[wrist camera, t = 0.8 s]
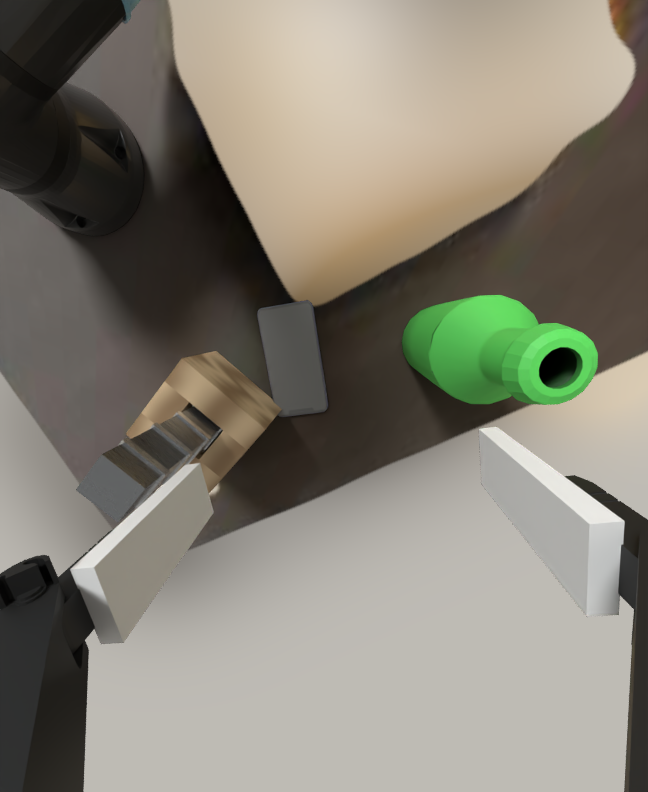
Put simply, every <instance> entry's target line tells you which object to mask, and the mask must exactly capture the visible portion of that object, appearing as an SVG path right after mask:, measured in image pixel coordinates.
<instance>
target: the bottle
mask: <svg viewBox="0 0 648 792" xmlns="http://www.w3.org/2000/svg"><path fill="white" fill-rule="evenodd" d="M402 348H403V354H404V356H405V358H406V359H407V361H408V363H409V364H410V365H411V366H412V367H413V368H414V369H416V370H417V371H418V372H419V373H421V374H422V375H423V376H425V377H426V378H427V379H428V380H430V381H431V382H432V383H434V384H435V385H437V386H438V387H439V388H441V389H442V390H444V391H445V392H446V393H448V394H449V395H451V396H452V397H453V398H455V399H458V400H461V401H464V402H466V403H469V404H492V403H495V402H498V401H501V400H504V399H507V398H509V397H511V396H513V397H514V398H515V399H516V400H519V401H522V402H525V403H528V404H543V405H547V404H560V403H563V402H566V401H568V400H571V399H573V398H574V397H576V396H577V395H579V394H580V393H581V392H583V391H584V389H585V388H586V387H587V386H588V384H589V383H590V382H591V380H592V379H593V376H594V374H595V371H596V369H597V360H598V353H597V351H596V348H595V346H594V343H593V342H592V341H591V340H590V339H589V338H588V337H587V336H586V335H585V334H584V333H581V332H579V331H577V330H575V329H573V328H570V327H567V326H564V325H561V324H558V323H548V324H540V325H539V324H538V322H537V320H536V318H535V316H534V314H533V313H532V312H530V311H529V310H528V309H527V308H526V307H525V306H524V305H523V304H521V303H520V302H519V301H516V300H513V299H510V298H507V297H505V296H502V295H486V296H476V297H471V298H466V299H462V300H457V301H452V302H448V303H443V304H439V305H434V306H431V307H429V308H426V309H423V310H421V311H420V312H418V313H417V314H416V315H415V316H414V317H413V318H411V319H410V321H409V323H408V324H407V326H406V328H405V329H404V333H403V338H402Z"/></svg>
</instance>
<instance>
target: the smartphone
mask: <svg viewBox="0 0 648 792" xmlns="http://www.w3.org/2000/svg"><path fill="white" fill-rule="evenodd" d="M257 317H258V322H259V328H260V333H261V338H262V344H263V349H264V354H265V359H266V365H267V370H268V375H269V381H270V386H271V391H272V397H273V402H274V403H275V404H276V405H278V406H279V407H280V408H281V409H282V410H281V411H280V412H279V413H278V416H280V417H287V416H295V415H303V414H312V413H320V412H324V411H325V410H326V409H327V408H328V400H327V393H326V385H325V380H324V374H323V373H324V372H323V367H322V361H321V354H320V348H319V341H318V335H317V328H316V322H315V315H314V309H313V305H312V303H311V302H310V301H308V300H306V301H300V302H294V303H288V304H283V305H276V306H271V307H265V308H260V309H259V310H258V313H257Z"/></svg>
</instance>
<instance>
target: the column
mask: <svg viewBox="0 0 648 792" xmlns="http://www.w3.org/2000/svg"><path fill="white" fill-rule="evenodd" d="M223 431H224V430H222V429H221V428H220V427H219V426H217V425H216V424H215V423H214V422H213V421H211V420H210V419H209V418H208V417H207V416H205V415H204V414H203V413H202V412H201V411H199V410H198V409H197V408H196V407H195V406H192V407H191V408H189V409H187V410H185V411H183V412H182V413H181V412H180V411H178V412H176V414H175V415H174V416H173V417H172V418H170V419H168V420H166V421H164V422H163V423H161V424H158V423H155V424H153V425H152V426H151V428H150V429H149V430H147V431H145V432H143V433H142V434H140V435H138V436H136V437H134V438H132V439H129V438H128V437H127V438H125V439H123V440H122V441H121V442H120V444H119V445H118V446H117V447H115V448H113V449H111V450H109V451H107V452H105V453H103V454H102V455H101V456H100V458H99V459H98V460H97V462H96V463H95V464H94V466H93V467H92V468H91V470H90V471H89V473H88V474H87V475H86V477H85V478H84V479H83V481H82V482H81V483H80V485H79V486H78V488H77V489H76V490H77V491H78V492H79V493H81V494H82V495H83V496H84V497H86V498H87V499H88V500H90V501H91V502H92V503H94V504H95V505H96V506H97V507H99V508H100V509H101V510H103V511H104V512H105V513H106V514H108V515H109V516H110V517H112V518H113V519H114V520H116V521H117V522H119V521H120V520H121V519H123V518H124V517H125V516H126V515H127V514H128V513H130V512H131V511H132V510H133V509H134V508H136V509H137V508H138V507H139V506H140V505H142V504H143V503H144V502H145V501H146V500H147V499H148V498H149V496H150V495H151V494H152V493H153V492H154V491H155V490H157V489H158V488H159V487H160V486H161V485H163V484H165V483H166V482H167V481H168V480H169V479H170V478H171V477H173V476H174V475H175V474H176V473H177V472H178V471H179V470H180V469H181V468H182V467H184V466H185V465H188V464H190V463H191V462H192V460H193V459H194V458H195V457H196V456H197V455H198V454H199V453H200V452H201V451H202V452H204V451H205V450H206V449H207V448H208V447H209V445H210V444H211V443H212V442H213V441H214V440H216V439H217V438H218V437H219V435H220V434H221V433H222V432H223Z"/></svg>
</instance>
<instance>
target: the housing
mask: <svg viewBox="0 0 648 792" xmlns="http://www.w3.org/2000/svg"><path fill="white" fill-rule="evenodd" d="M192 406H195V407H196V408H197V409H198V410H199V411H201V412H202V413H203V414H204V415H205V416H207V417H208V418H209V419H210V420H211V421H213V422H214V423H215V424H216V425H217V426H219V427H220V428H221V429H222V430H224V431H223V432H222V433H221V434H220V435H219V437H218V438H217V439H216V440H214V441H213V442H212V443H211V444H210V445H209V447H208V448H207V449H206V450H205V451H204V452H202V451H201V452H200V453H199V454H198V455H197V456H196V457H195V458H194V459H193V460H192V462H191V463H190V464H196V463H200V465H201V468H202V472H203V476H204V479H205V483H206V486H207V490H208V494H209V493H210V492H211V490H212V489H213V488H214V487H215V486H216V485H217V484H218V483H219V481H220V480H221V479H222V478H223V477H224V476H225V475H226V473H227V472H228V471H229V470H230V469H231V468H232V467H233V466H234V464H235V463H236V462H237V461H238V460H239V459H240V458H241V456H242V455H243V454H244V453H245V452H246V451H247V450H248V449H249V447H250V446H251V445H252V444H253V443H254V442H255V441H256V439H257V438H258V437H259V436H260V435H261V434H262V433H263V432H264V430H265V429H266V428H267V427H268V426H269V424H270V423H271V422H272V421H273V419H274V418H275V417H276V416H277V415H278V413H279V412H280V411H281V410H282V409H281V408H280V407H279V406H278V405H276V404H275V403H274V402H273V399H272V398H270V397H269V396H268V395H267V394H266V393H265V392H263V391H262V390H261V389H260V388H259V387H258V386H256V385H255V384H254V383H253V382H252V381H251V380H249V379H248V378H247V377H246V376H245V375H244V374H242V373H241V372H240V371H239V370H238V369H237V368H235V367H234V366H233V365H232V364H231V363H230V362H228V361H227V360H226V359H225V358H224V357H223V356H222V355H220V354H219V353H218V352H217V351H214V352H210V353H205V354H200V355H195V356H190V357H185V358H182V359H181V360H180V362H179V363H178V364H177V366H176V367H175V368H174V370H173V371H172V372H171V374H170V375H169V376H168V378H167V379H166V380H165V382H164V383H163V384H162V386H161V387H160V389H159V390H158V391H157V393H156V394H155V395H154V397H153V398H152V399H151V401H150V402H149V403H148V405H147V406H146V407H145V409H144V410H143V411H142V413H141V414H140V416H139V417H138V418H137V420H136V421H135V422H134V424H133V425H132V426H131V428H130V429H129V430H128V432H127V433H126V435H128V436H129V437H130V438H131V439H132V438H134V437H136V436H138V435H140V434H142V433H143V432H145V431H147V430H149V429H150V428H151V426H152V425H153V424H155V423H158V424H161V423H163V422H164V421H166V420H168V419H170V418H172V417H173V416H174V415H175V414H176V412H178V411H180V412H181V413H182V412H183V411H185V410H187V409H189V408H191V407H192Z"/></svg>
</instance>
